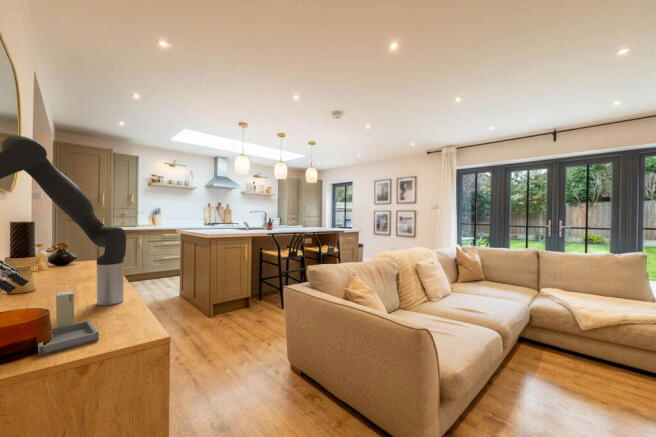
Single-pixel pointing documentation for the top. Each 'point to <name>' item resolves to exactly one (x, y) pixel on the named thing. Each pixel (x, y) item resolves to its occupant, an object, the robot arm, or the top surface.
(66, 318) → the skincare box
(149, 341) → the top surface
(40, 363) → the top surface
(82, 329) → the tray
